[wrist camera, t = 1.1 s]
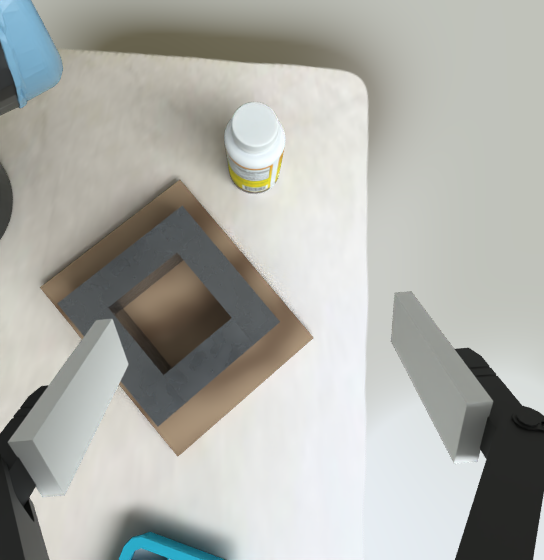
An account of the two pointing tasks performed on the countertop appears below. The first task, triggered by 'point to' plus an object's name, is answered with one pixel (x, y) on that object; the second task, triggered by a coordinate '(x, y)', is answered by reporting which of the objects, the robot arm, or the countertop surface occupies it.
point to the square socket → (143, 274)
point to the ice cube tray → (163, 548)
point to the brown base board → (189, 316)
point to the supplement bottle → (254, 147)
